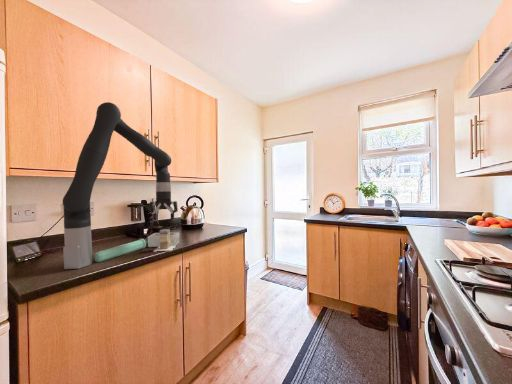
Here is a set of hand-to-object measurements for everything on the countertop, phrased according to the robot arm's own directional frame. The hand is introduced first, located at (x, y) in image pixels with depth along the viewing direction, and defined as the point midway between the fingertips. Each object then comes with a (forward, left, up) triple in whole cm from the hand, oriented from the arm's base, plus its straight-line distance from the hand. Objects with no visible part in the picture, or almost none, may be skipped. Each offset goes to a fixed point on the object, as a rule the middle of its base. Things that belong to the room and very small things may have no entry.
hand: (163, 220), depth 120 cm
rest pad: (0, 0, -16) cm, 16 cm away
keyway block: (+11, +4, -16) cm, 20 cm away
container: (-6, +20, -16) cm, 26 cm away
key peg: (+1, 0, -15) cm, 15 cm away
